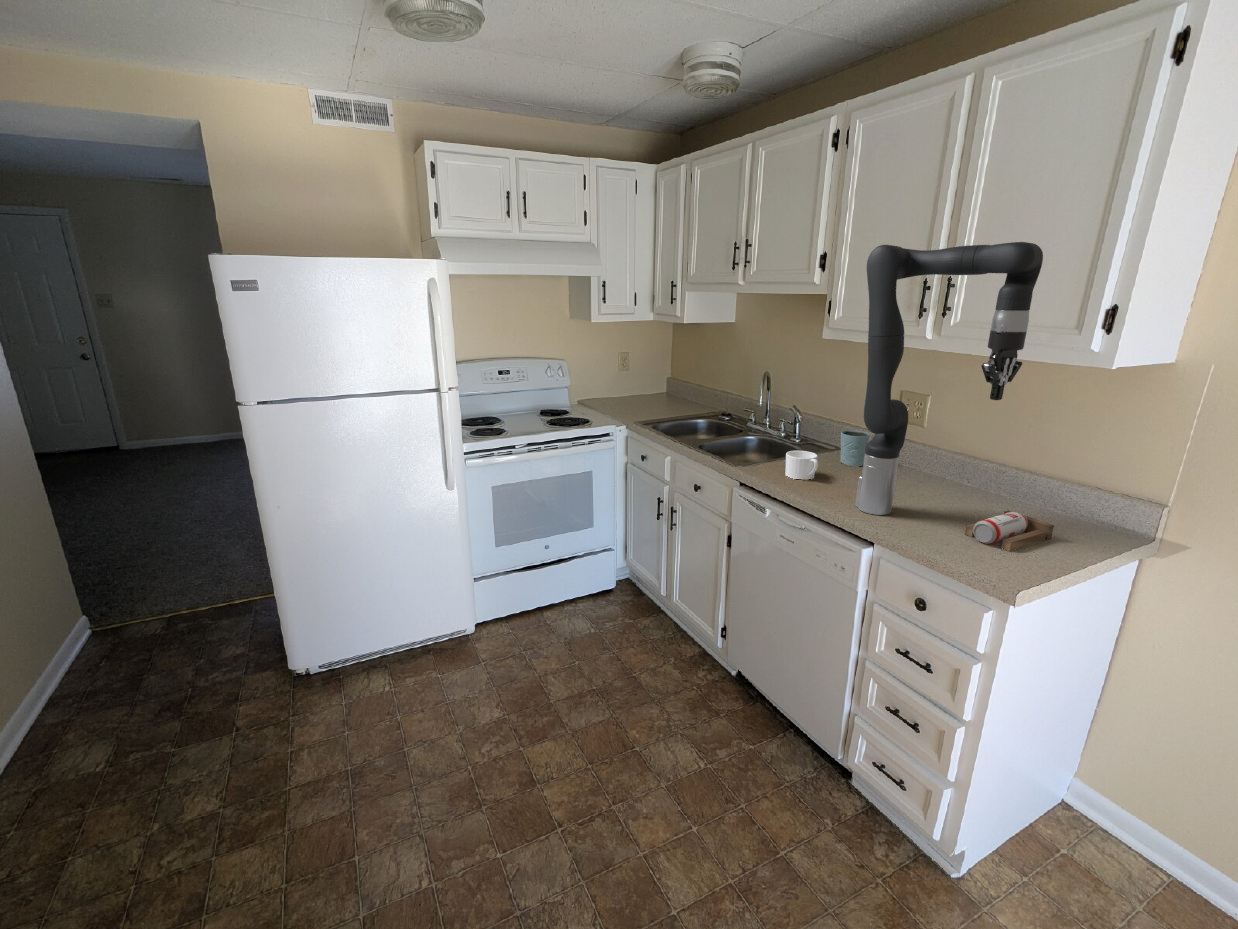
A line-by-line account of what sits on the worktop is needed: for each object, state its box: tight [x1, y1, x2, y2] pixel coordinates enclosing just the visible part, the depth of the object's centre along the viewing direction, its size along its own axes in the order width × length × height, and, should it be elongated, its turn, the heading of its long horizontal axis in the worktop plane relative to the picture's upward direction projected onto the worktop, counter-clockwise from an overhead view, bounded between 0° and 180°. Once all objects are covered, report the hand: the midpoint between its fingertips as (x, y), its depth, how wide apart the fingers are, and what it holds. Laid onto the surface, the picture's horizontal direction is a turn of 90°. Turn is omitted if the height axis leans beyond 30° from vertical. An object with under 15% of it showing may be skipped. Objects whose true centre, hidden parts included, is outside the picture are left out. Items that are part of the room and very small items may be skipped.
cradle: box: [964, 510, 1055, 552], centre depth 159 cm, size 12×18×4 cm, turn 116°
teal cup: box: [840, 430, 871, 467], centre depth 224 cm, size 10×10×12 cm
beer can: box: [973, 511, 1028, 545], centre depth 157 cm, size 6×6×16 cm
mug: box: [784, 450, 819, 480], centre depth 208 cm, size 13×10×8 cm
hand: (995, 399), depth 149 cm, fingers closed
